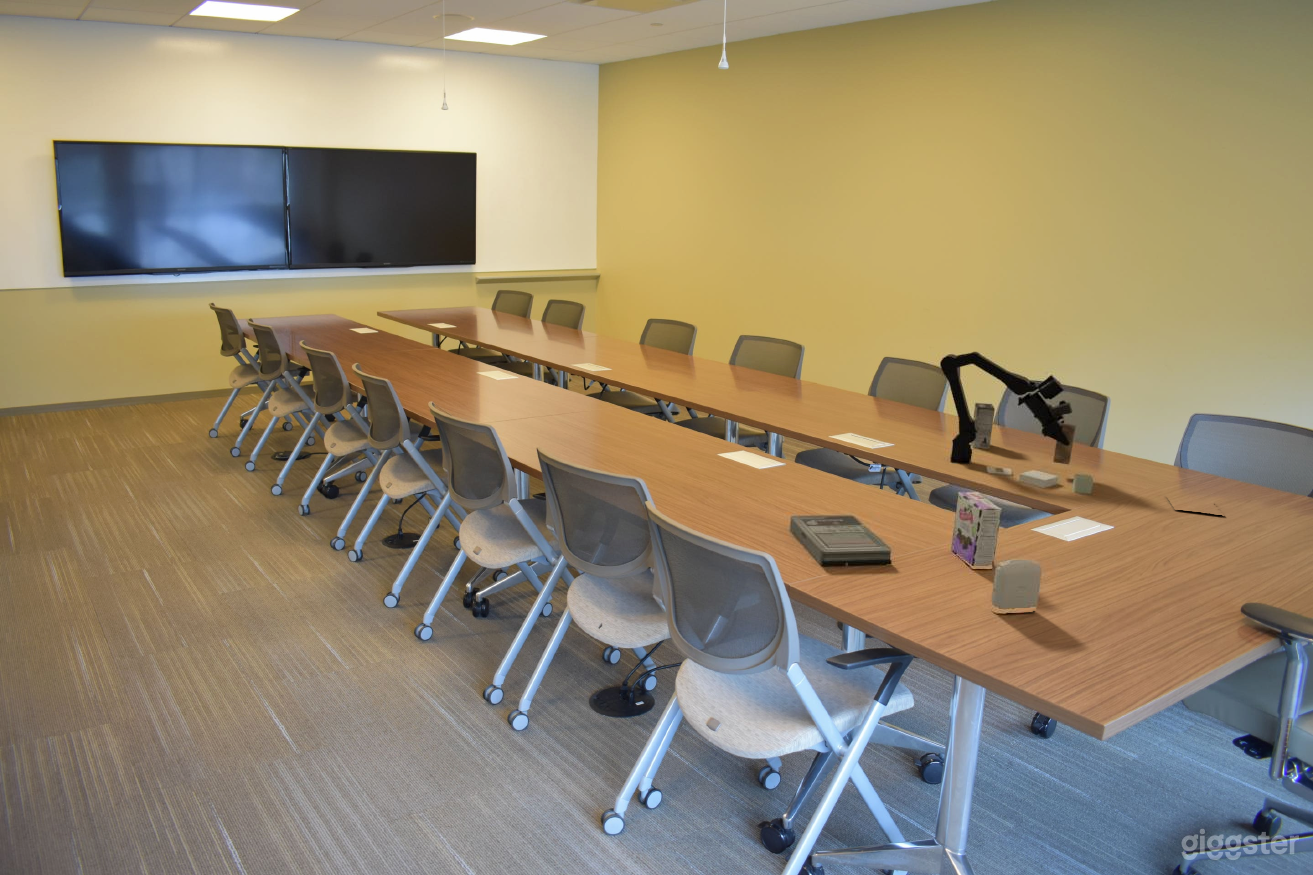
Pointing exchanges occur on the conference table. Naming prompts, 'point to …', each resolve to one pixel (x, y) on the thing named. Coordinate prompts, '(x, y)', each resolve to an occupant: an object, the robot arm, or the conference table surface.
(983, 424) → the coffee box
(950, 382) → the robot arm
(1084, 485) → the sage cube
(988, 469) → the card
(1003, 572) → the photo printer
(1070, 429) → the walnut pillar
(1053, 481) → the grey base block
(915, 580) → the conference table surface
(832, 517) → the hard drive
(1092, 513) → the conference table surface
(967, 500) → the candy box
